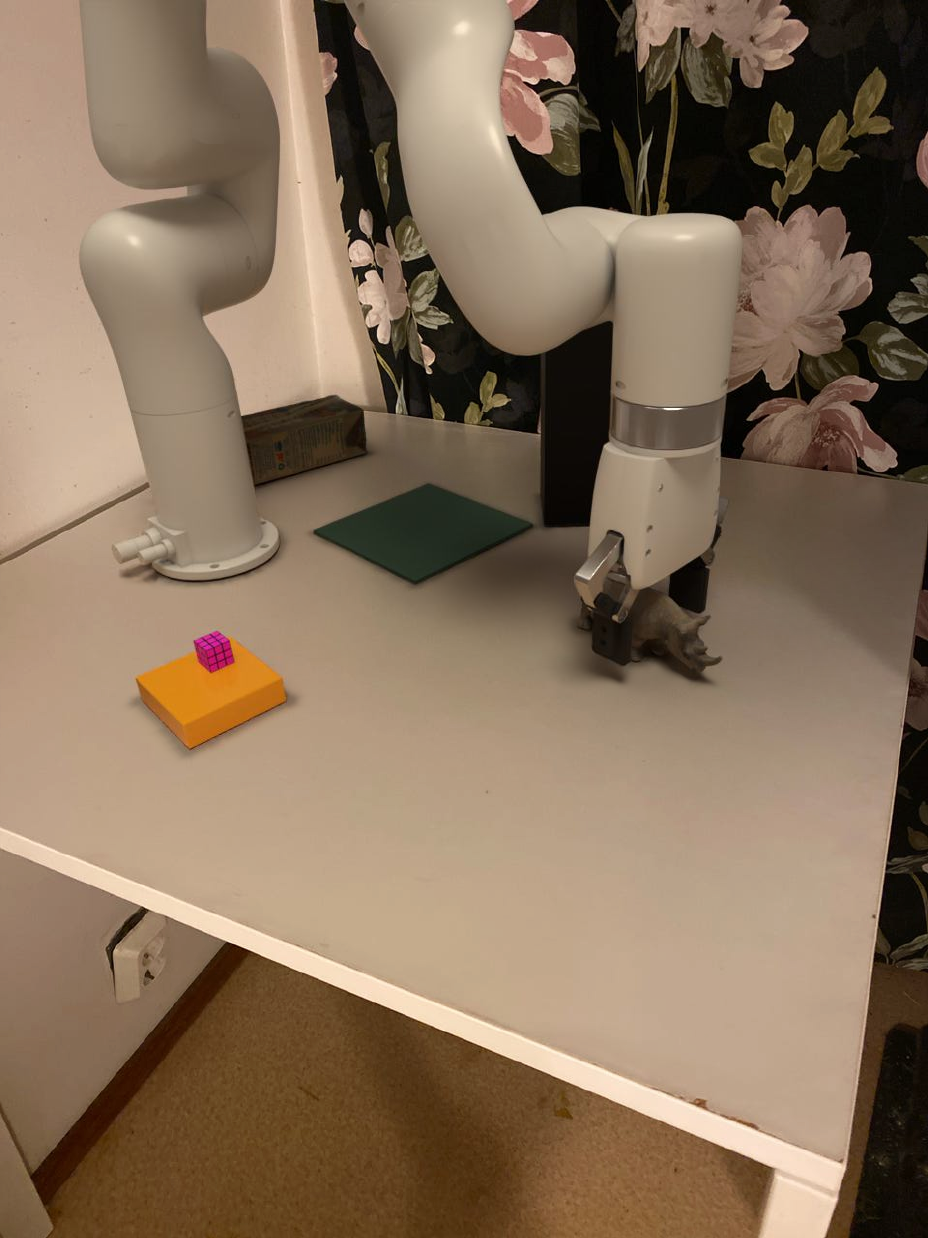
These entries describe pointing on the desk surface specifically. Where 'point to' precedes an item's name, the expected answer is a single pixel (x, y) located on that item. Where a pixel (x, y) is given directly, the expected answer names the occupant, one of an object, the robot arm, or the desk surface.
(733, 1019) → the desk surface
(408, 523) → the mat
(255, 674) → the orange block
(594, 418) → the tissue box
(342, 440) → the beverage carton
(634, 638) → the rhino figurine
